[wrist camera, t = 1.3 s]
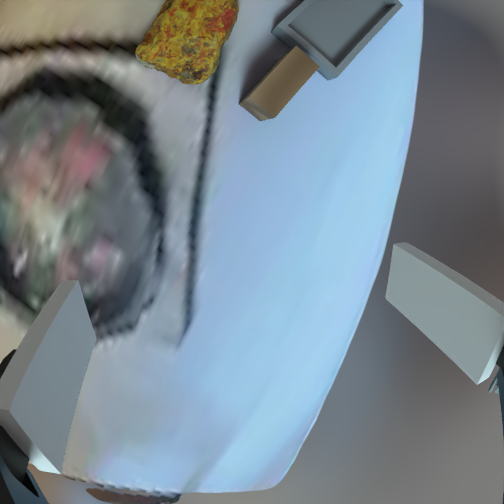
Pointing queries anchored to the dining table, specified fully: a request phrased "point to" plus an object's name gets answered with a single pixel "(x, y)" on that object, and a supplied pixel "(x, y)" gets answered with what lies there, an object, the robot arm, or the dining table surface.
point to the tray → (334, 30)
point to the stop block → (279, 84)
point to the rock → (188, 38)
